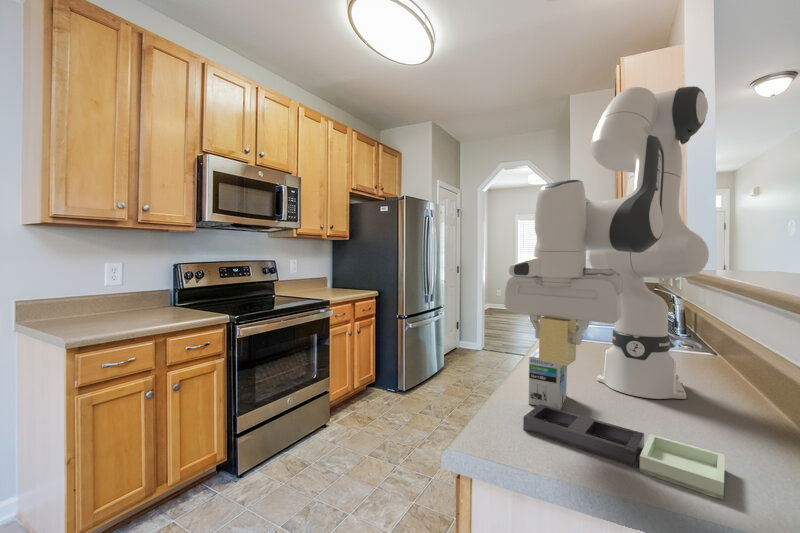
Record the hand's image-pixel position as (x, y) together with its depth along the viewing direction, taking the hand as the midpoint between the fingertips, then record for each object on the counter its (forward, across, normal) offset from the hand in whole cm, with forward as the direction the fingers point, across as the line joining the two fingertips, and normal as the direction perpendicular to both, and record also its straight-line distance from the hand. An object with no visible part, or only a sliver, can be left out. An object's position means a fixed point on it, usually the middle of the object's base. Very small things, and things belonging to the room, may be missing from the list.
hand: (557, 341), depth 68 cm
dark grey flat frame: (+17, -4, 0) cm, 17 cm away
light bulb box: (+17, +7, -14) cm, 23 cm away
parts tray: (+17, -19, 0) cm, 25 cm away
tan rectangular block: (+4, 0, 0) cm, 4 cm away
